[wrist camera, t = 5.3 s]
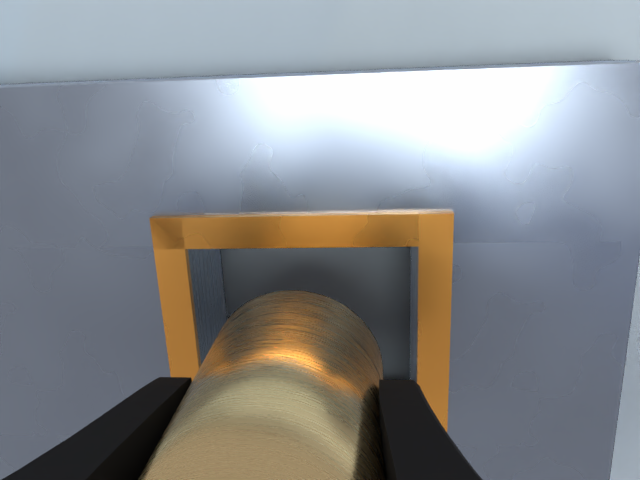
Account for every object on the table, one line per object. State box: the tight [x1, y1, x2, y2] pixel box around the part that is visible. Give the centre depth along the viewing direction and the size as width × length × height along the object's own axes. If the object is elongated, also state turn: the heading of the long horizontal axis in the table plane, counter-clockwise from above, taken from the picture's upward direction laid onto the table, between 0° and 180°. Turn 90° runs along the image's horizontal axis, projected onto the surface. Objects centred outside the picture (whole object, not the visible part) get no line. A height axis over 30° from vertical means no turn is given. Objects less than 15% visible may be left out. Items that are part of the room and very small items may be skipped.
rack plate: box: [0, 60, 640, 480], centre depth 15 cm, size 12×19×3 cm, turn 92°
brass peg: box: [138, 290, 385, 480], centre depth 9 cm, size 4×4×6 cm
